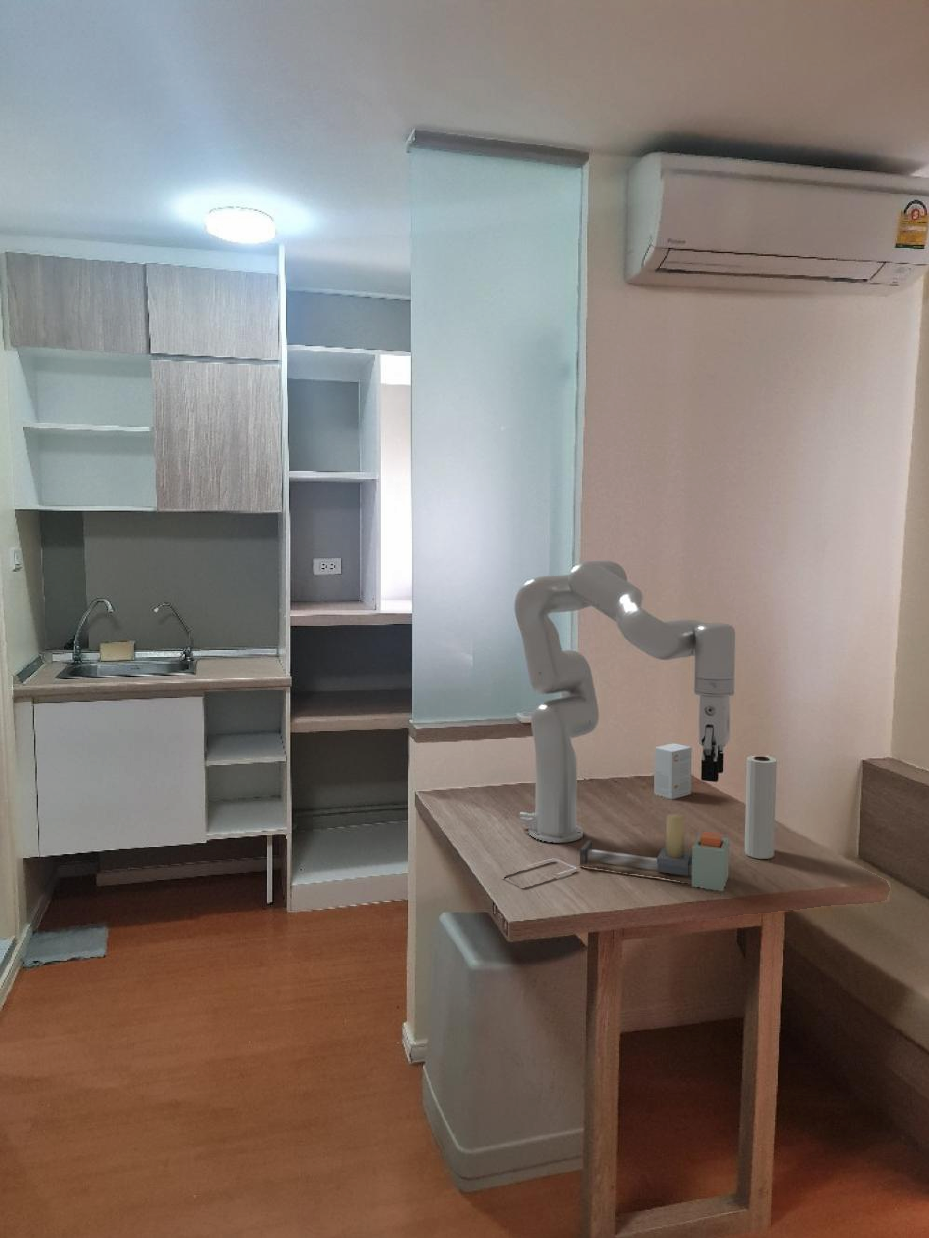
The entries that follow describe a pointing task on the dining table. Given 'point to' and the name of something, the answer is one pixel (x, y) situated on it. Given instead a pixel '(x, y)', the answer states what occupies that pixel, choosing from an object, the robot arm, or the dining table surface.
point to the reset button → (711, 839)
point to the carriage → (674, 848)
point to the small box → (672, 770)
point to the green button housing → (710, 865)
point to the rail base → (626, 863)
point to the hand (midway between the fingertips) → (712, 775)
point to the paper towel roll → (760, 806)
